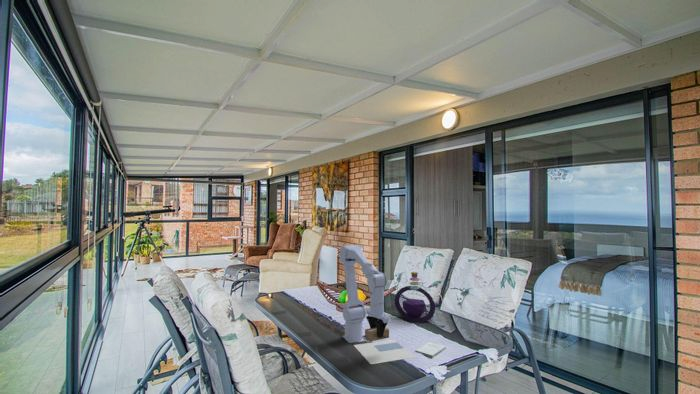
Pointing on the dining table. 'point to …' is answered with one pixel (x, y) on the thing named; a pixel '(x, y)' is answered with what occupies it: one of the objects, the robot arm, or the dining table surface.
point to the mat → (383, 351)
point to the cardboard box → (375, 334)
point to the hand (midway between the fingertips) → (377, 335)
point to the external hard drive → (430, 349)
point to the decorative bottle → (414, 303)
